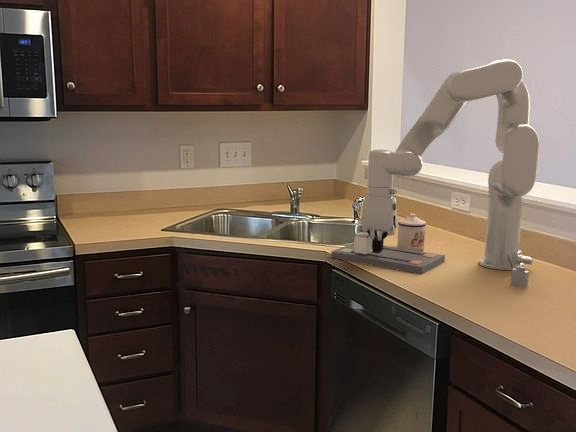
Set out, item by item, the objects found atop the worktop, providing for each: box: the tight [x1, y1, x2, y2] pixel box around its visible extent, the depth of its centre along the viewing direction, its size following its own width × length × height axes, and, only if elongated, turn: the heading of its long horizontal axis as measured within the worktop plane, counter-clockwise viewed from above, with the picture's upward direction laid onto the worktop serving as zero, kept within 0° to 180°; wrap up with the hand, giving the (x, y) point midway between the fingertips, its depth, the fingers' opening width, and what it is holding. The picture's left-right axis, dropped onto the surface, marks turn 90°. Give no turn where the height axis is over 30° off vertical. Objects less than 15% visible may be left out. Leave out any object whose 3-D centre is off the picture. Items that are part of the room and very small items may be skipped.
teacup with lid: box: [396, 213, 427, 252], centre depth 215 cm, size 12×9×12 cm
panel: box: [330, 242, 446, 275], centre depth 201 cm, size 30×17×2 cm, turn 55°
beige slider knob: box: [353, 231, 372, 254], centre depth 199 cm, size 4×4×6 cm
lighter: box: [502, 254, 530, 289], centre depth 176 cm, size 7×2×8 cm, turn 49°
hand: (377, 252), depth 197 cm, fingers closed
